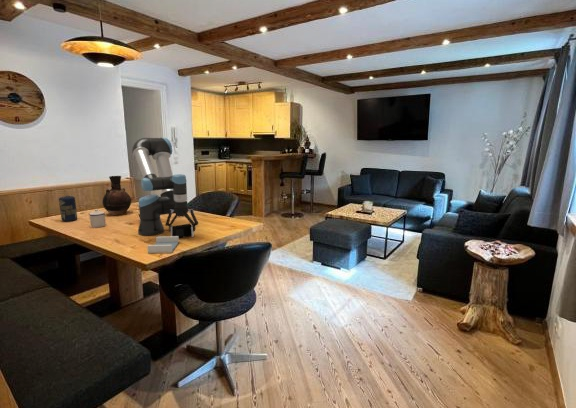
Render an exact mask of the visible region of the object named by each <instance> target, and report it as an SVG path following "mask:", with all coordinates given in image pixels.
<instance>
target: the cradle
mask: <svg viewBox="0 0 576 408" xmlns="http://www.w3.org/2000/svg"><path fill="white" fill-rule="evenodd" d="M179 243H180V238H179V236H171V235H170V236H164V235H163V236H160V235H159V236H156V237H155V243H154V244H148V245H147V247H146V248H147V254H171V253H173V252H174V250H175V249H176V248H177V247H178V245H179Z"/></svg>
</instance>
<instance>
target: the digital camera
mask: <svg viewBox="0 0 576 408" xmlns="http://www.w3.org/2000/svg"><path fill="white" fill-rule="evenodd" d="M172 226H173V236H179V239H181V238H187V237H192V231H191V226H192V224H191V223H185V224H179V225H172Z"/></svg>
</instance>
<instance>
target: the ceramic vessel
mask: <svg viewBox="0 0 576 408" xmlns="http://www.w3.org/2000/svg"><path fill="white" fill-rule="evenodd" d="M108 178H109V181H110V187H111V188H110V189H108V188H107V189H105V194H104V196H103V198H102V206H103V208H104V209H105V210H106V212H107V213H109V214H110V215H114V216H118V215H119V216H120V215H123V214H125V213H127V211H128V210H129V209H130V208H131V204H132V197H131V195H129V193H128V192H127V191H126V189H125V187H124V188H122V185H121V179H122V175H110V176H109V177H108Z"/></svg>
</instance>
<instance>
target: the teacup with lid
mask: <svg viewBox="0 0 576 408" xmlns="http://www.w3.org/2000/svg"><path fill="white" fill-rule="evenodd" d="M88 216H89V220H90V227H91V228H93V229H94V228H95V229H96V228H103V227H105V226H107V223H106V212H105V211H101V210H99V209H98V208H96V209H94V210H93V211H91V212H89V214H88Z"/></svg>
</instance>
